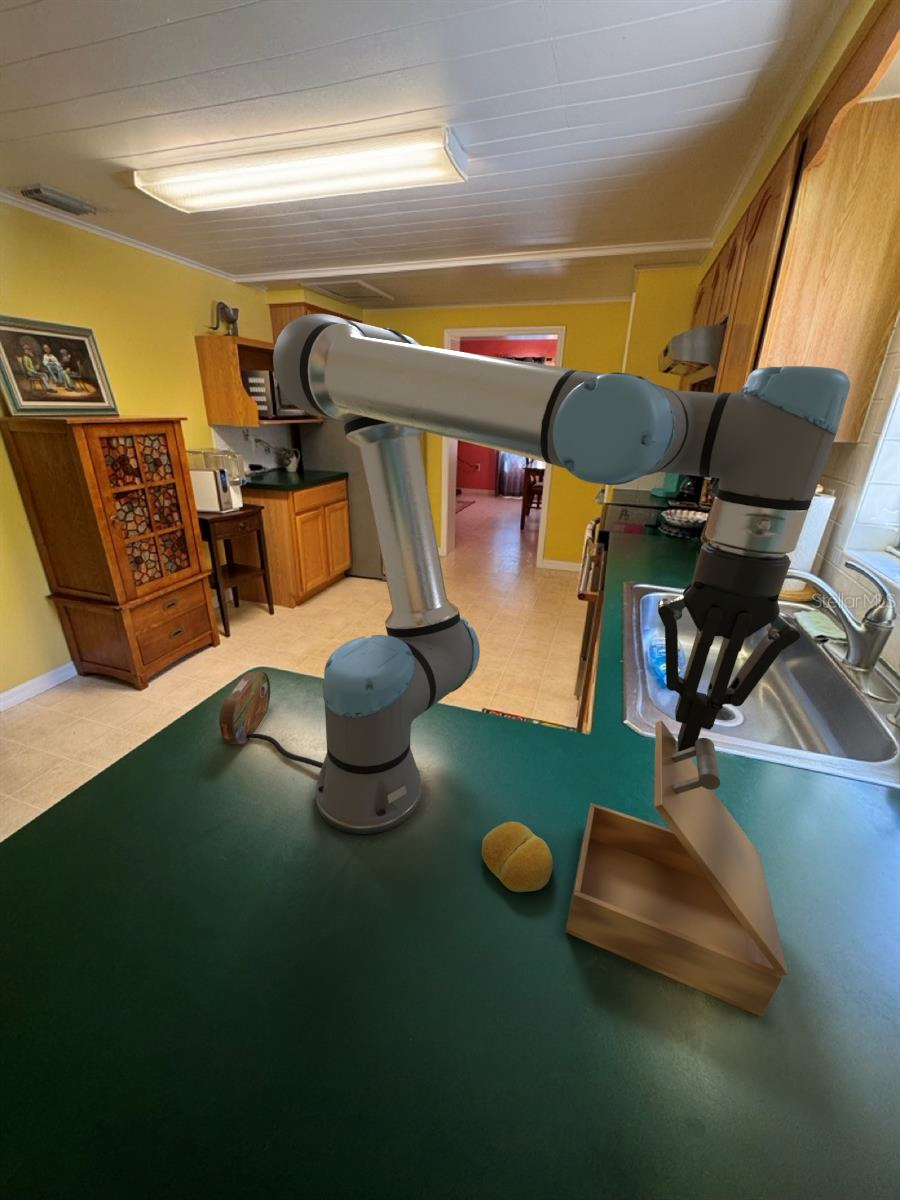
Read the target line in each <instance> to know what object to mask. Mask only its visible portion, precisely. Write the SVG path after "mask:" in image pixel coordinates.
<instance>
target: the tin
mask: <svg viewBox="0 0 900 1200" xmlns="http://www.w3.org/2000/svg"><path fill="white" fill-rule="evenodd" d="M270 700H271V682H270V678H269V676H268V674H267V673H266V672H265V671H263V670H262V671H249V672H246V673H245V674H244V675H243V676H242V677H241V678H240V680H239V681H238V682H237V684H236V685H235V686H234V687H233V689H232V690H231V691H230V693H228V695H227V696H226V698H225V699H224V701H223V703H222V705H221V707H220V711H219V718H218V724H219V728H220V729H219V730H220V734H221V737H222V740H223V742H224V743H226V744H230V745H231V744H232V745H237V744H238V745H245V744H247V743H248V742H249V741H250V739H251V738H246V734H255V733H254V732H255V731H256V730H257V728H258V726H259V724H260V723H261V721H262V720H263V718H264V716H265V715H266V713H267V711H268V708H269V705H270Z"/></svg>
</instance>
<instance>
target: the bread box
mask: <svg viewBox="0 0 900 1200" xmlns="http://www.w3.org/2000/svg"><path fill="white" fill-rule="evenodd" d="M586 817H587V818H586V823H585V827H584V832H583V836H582V840H581V846H580V852H579V857H578V861H577V867H576V874H575V879H574V883H573V889H572V893H571V900H570V905H569V909H568V910H569V911H568V917H567V922H566V926H565V933H567V934H568V935H571V936H573V937H576V938H578V939H580V940H582V941H585V942H587V943H590V944H591V945H593V946H596V947H599V948H601V949H603V950H606V951H608V952H610V953H613V954H615V955H617V956H619V957H621V958H624V959H626V960H628V961H630V962H633V963H635V964H638V965H640V966H642V967H645V968H647V969H649V970H652V971H654V972H656V973H659V974H661V975H663V976H666V977H668V978H670V979H673V980H675V981H678V982H679V983H682V984H684V985H687V986H689V987H692V988H693V989H695V990H698V991H701V992H702V993H705V994H707V995H710V996H711V997H714V998H716V999H719V1000H721V1001H724V1002H726V1003H728V1004H730V1005H733V1006H735V1007H737V1008H738V1009H739V1008H740V1009H742V1010H744V1011H746V1012H749V1013H751V1014H753V1015H756V1016H758V1017H760V1018H763V1016H764V1014H765V1013H766V1011H767V1009H768V1008H769V1005H770V1002H771V1000H772V999H773V997H774V995H775V993H776V991H777V989H778V987H779V985H780V983H781V982H782V979H783V977H782V975H779V974H778V973H777V972H776V970H775V969H774V968H773V966H772V965H771V964H770V962H769V961H768V960H767V958H766V957H765V956H764V954H763V953H762V951H761V950H760V949H759V947H758V946H757V945H756V943H755V942H754V941H753V939H752V938H751V937H750V935H749V934H748V933H747V931H746V930H745V929H744V927H743V926H742V924H741V923H740V922H739V920H738V919H737V918H736V916H735V915H734V914H733V912H732V911H731V910H730V908H729V907H728V906H727V904H726V903H725V902H724V900H723V899H722V897H721V896H720V895H719V893H718V892H717V891H716V889H715V888H714V887H713V885H712V884H711V883H710V881H709V880H708V879H707V877H706V876H705V875H704V873H703V872H702V870H701V869H700V868H699V866H698V865H697V864H696V862H695V861H694V860H693V858H692V857H691V856H690V854H689V853H688V852H687V850H686V849H685V848H684V846H683V845H682V844H681V842H680V841H679V839H678V838H677V837H676V835H675V834H674V833H673V831H672V830H671V829H670V828H668V827H665V826H661V825H660V824H656V823H653V822H650V821H646V820H644V819H641V818H639V817H635V816H632V815H629V814H626V813H623V812H620V811H617V810H614V809H612V808H609V807H605V806H602V805H599V804H596V803H593V802H590V805H589V808H588V813H587V816H586Z"/></svg>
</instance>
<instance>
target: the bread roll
mask: <svg viewBox="0 0 900 1200" xmlns="http://www.w3.org/2000/svg"><path fill="white" fill-rule="evenodd" d="M481 845H482V846H481V856H482V860H483V862H484V863H485V865H486V867H487V868H488V870H489V871H490V872H491V873H493V875H494V876H495V877H496V878H497V879H499V881H500V882H501V883H502V885H503V886H504V887H505V888H507V889H508V890H509V891H511V892H514V893H527V892H536V891H539V890H542V889H543V888H544V887H545V886H546V885H547V884H548V883H549V881H550V878H551V875H552V872H553V868H554V866H553V865H554V861H553V854H552V853H551V850H550V848H549V846H548V844H547V843H546V841H545V840H544V839H542V838H541V837H538V836H537V835H536V834H534V833H533V831H532V830H531V828H529V827H528V826H527V825H525V824H522V823H521V822H518V821H507V822H503V823H502V824H499V825H497V826H496V827H494V828H493V829H492V830H490V831H489V832H487V833H486V835H485V836H484V837H483V839H482V844H481Z"/></svg>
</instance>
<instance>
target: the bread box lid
mask: <svg viewBox="0 0 900 1200" xmlns="http://www.w3.org/2000/svg"><path fill="white" fill-rule="evenodd" d="M654 731H655V733H654V734H655V735H654V737H655V738H654V794H653V795H654V796H653V797H654V800H653V801H654V802H653V803H654V805H653V806H654V808H655V810H656V811H657V812H658V814H659V816H660V817H661V818H662V819H663V821H664V822H665V824H666V825H667V827H669V829H671V830H672V831H673V833H674V834H675V835H676V837H677V838H678V839H679V841H680V842H681V844H682V845H683V846H684V848H685V849H686V850H687V852H688V853H689V854H690V856H691V857H692V858H693V860H694V861H695V862H696V864H697V865H698V866H699V868H700V869H701V870H702V872H703V873H704V875H705V876H706V877H707V879H708V880H709V881H710V883H711V884H712V885H713V887H714V888H715V889H716V891H717V892H718V893H719V895H720V896H721V897H722V899H723V900H724V902H725V903H726V904H727V906H728V907H729V908H730V910H731V911H732V912H733V914H734V915H735V916H736V918H737V919H738V920H739V922H740V923H741V924H742V926H743V927H744V929H745V930H746V931H747V933H748V934H749V935H750V937H751V938H752V939H753V941H754V942H755V943H756V945H757V946H758V947H759V949H760V950H761V951H762V953H763V954H764V956H765V957H766V958H767V960H768V961H769V962H770V964H771V965H772V966H773V968H774V969H775V970H776V972H777V973H778V974H779V975H781V976H787V975H788V969H787V965H786V961H785V956H784V952H783V947H782V943H781V939H780V935H779V931H778V925H777V923H776V919H775V913H774V908H773V905H772V900H771V895H770V892H769V888H768V884H767V879H766V874H765V870H764V865H763V862H762V858H761V854H760V852H759V850H758V849H757V848H756V846H755V845H754V843H752V841H751V839H750V838H749V837H748V835H747V834H746V832H744V830H743V829H742V828H741V826H740V825H739V823H738V822H737V821H736V819H735V818H734V816H733V815H732V814H731V812H730V811H729V809H728V808H727V807H726V806H725V804H724V803H723V802H722V800H721V798H719V797H718V794H717V793H716V792H715V790H716V789H718V788H719V787H720V786H721V778H720V771H719V765H718V760H717V759H718V758H717V754H716V753H717V752H716V747H715V743H714V742H713V740H712V739H710V738H707V737H698V739H697V740H696V742H695V746H694V747H691V748H688V749H686V750H683V751H680V752H678V740H677V739H676V737H674V735H673V734H672V732H671V731H670V729H669V728H668V727H667V726H666V724H665V723H664V721H663V720H662V719H661V720H658V721H655V730H654ZM693 757H695V759H696V765H695V764H694V762H693V761H692V760H691V758H693Z"/></svg>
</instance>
